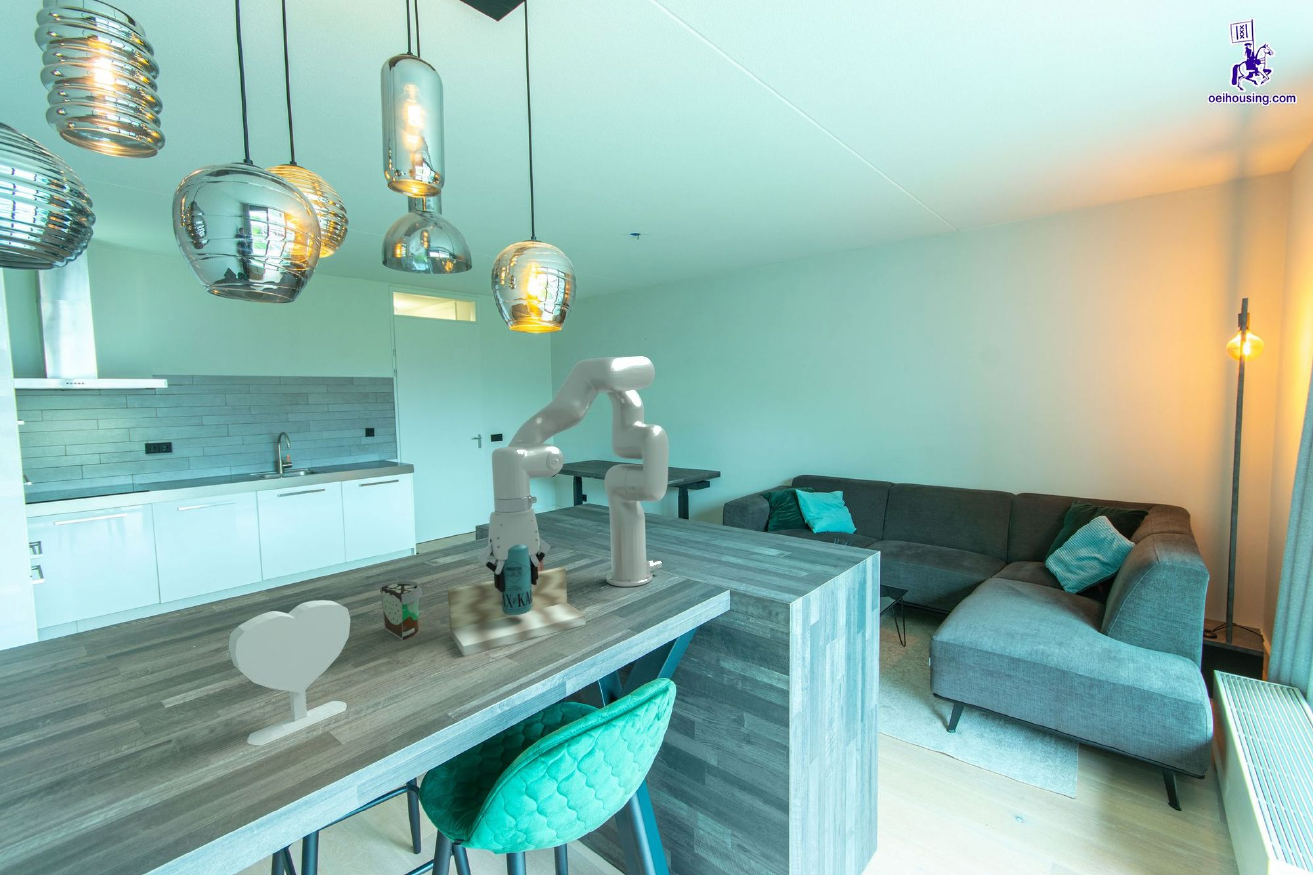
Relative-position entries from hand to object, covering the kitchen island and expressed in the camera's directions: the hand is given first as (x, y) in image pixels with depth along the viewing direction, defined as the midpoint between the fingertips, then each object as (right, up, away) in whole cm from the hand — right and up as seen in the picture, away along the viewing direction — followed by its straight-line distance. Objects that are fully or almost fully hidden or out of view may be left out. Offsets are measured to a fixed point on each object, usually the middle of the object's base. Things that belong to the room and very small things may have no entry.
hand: (516, 586), depth 121 cm
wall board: (+1, -10, -1) cm, 10 cm away
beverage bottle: (0, -7, 0) cm, 7 cm away
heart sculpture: (-26, -13, -33) cm, 44 cm away
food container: (-24, -10, +2) cm, 27 cm away
